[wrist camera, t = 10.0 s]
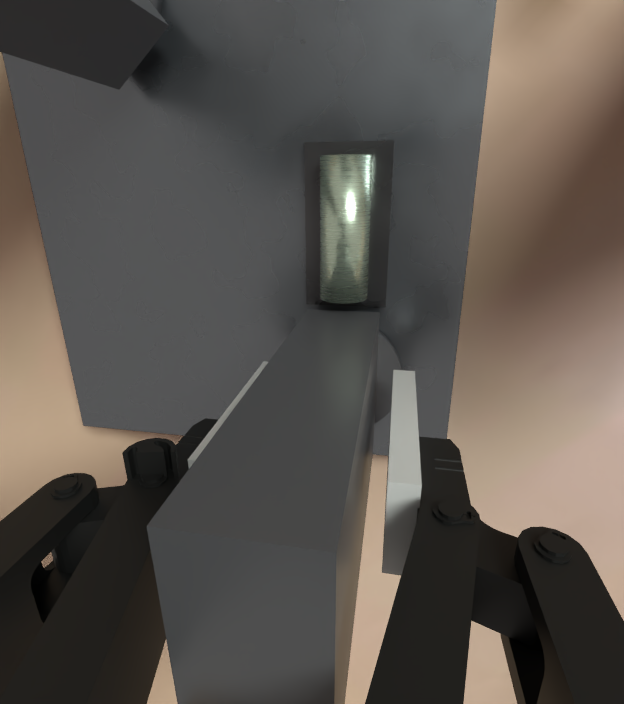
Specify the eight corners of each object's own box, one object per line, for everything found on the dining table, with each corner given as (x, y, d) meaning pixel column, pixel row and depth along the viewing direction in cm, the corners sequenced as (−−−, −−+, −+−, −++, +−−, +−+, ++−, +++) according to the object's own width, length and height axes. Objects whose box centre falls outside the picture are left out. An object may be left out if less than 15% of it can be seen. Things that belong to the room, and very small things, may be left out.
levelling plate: (7, -105, 17) (-94, -178, 14) (507, -176, 14) (541, -296, 10) (107, 407, 25) (58, 444, 21) (440, 437, 22) (447, 486, 18)
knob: (288, 301, 19) (57, 547, 6) (406, 306, 18) (413, 603, 5) (292, 427, 21) (125, 799, 8) (397, 437, 20) (387, 867, 7)
